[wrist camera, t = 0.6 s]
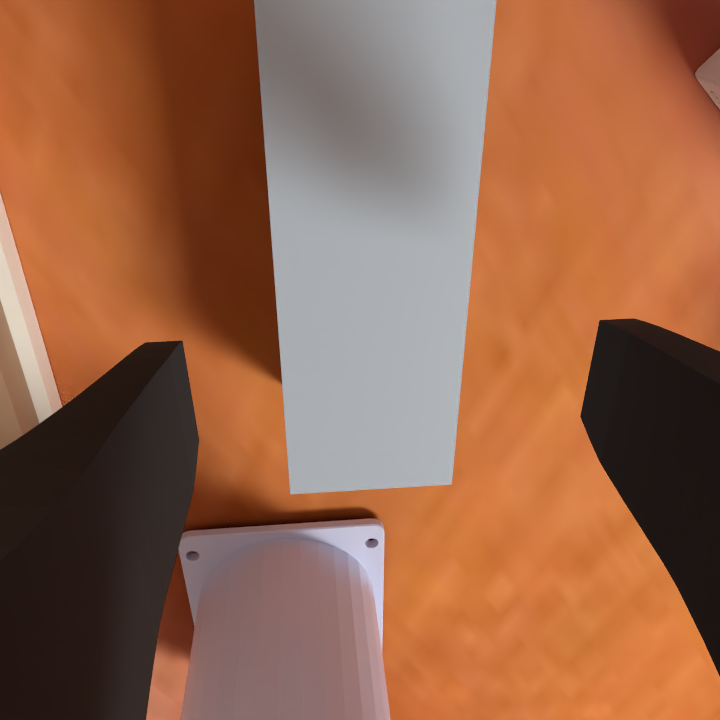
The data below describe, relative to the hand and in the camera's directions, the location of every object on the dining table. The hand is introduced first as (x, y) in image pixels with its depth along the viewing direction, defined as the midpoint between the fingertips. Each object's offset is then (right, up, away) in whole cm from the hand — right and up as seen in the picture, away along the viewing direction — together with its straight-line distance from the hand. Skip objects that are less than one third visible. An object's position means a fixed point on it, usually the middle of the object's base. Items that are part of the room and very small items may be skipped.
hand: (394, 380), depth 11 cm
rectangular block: (-1, +5, +8) cm, 10 cm away
